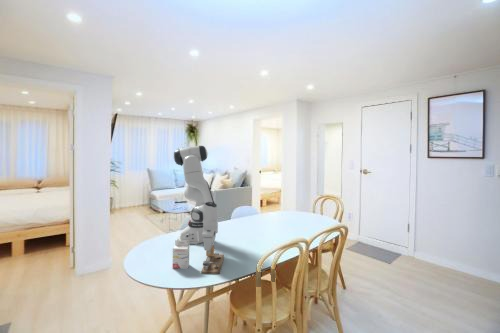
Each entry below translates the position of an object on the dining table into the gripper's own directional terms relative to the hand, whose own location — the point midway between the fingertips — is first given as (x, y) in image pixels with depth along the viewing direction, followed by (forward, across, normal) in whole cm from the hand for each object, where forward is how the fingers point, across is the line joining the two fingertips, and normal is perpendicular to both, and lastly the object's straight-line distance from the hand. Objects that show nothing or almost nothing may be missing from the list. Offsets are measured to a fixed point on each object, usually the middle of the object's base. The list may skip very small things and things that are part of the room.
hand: (210, 251), depth 150 cm
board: (+5, +6, +3) cm, 8 cm away
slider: (+4, 0, +2) cm, 4 cm away
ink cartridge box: (+5, +10, -15) cm, 19 cm away
